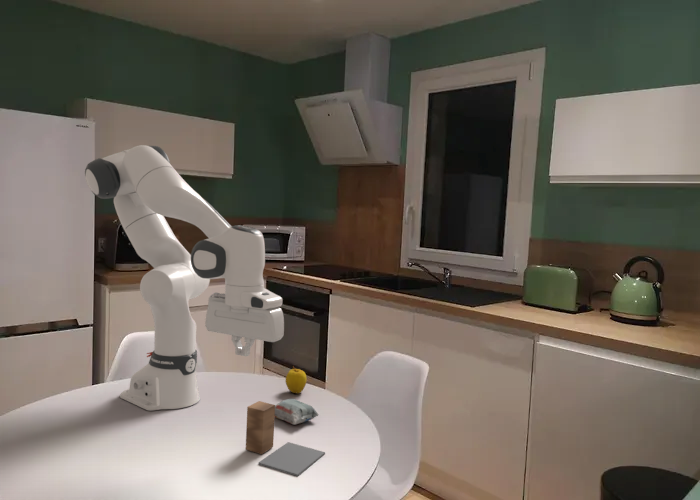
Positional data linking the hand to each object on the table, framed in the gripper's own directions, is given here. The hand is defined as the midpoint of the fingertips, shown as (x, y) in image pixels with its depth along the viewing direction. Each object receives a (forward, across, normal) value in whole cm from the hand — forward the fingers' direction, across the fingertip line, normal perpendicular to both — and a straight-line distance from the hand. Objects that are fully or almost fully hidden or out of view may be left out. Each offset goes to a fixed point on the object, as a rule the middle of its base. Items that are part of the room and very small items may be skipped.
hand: (242, 355), depth 122 cm
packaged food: (+22, +3, +18) cm, 29 cm away
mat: (+21, +15, 0) cm, 26 cm away
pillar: (+21, +6, 0) cm, 22 cm away
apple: (+21, -8, +37) cm, 43 cm away
